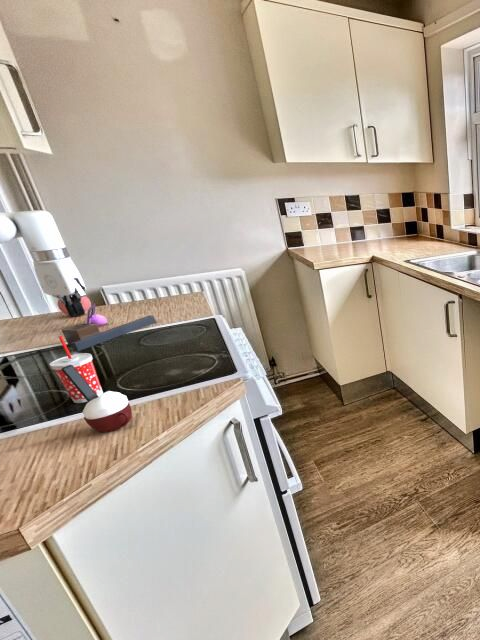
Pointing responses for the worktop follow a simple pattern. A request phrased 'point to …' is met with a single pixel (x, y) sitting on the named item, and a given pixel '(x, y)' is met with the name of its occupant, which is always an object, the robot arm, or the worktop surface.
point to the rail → (112, 333)
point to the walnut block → (79, 332)
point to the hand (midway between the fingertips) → (78, 315)
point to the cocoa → (101, 404)
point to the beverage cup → (82, 366)
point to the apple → (84, 302)
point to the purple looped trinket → (95, 317)
